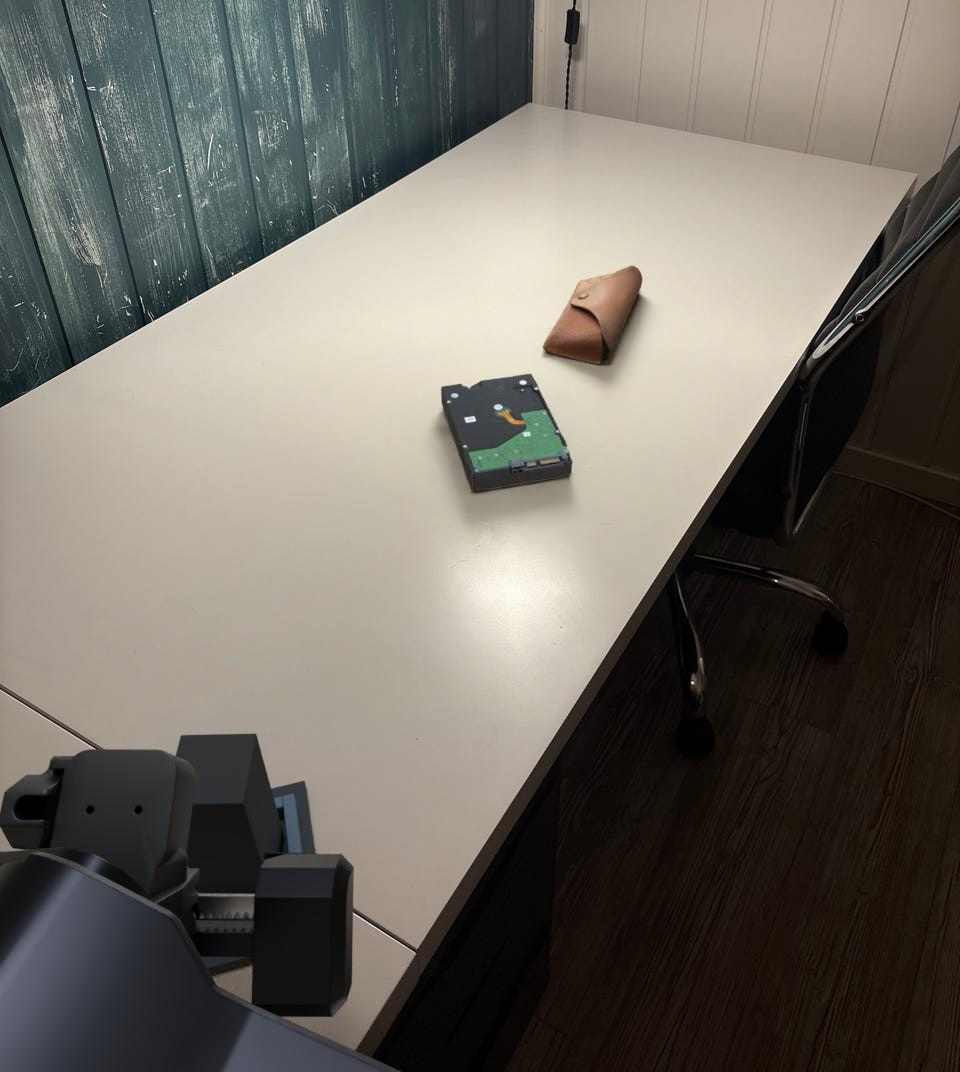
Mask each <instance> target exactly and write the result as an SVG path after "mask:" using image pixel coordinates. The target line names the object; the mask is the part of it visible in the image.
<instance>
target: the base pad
mask: <svg viewBox="0 0 960 1072" xmlns="http://www.w3.org/2000/svg"><path fill="white" fill-rule="evenodd" d="M271 790H272V793H273V797H274V801H275V804H276V808H277V812H278V815H279V819H280V822H281V826H282V830H283V833H284V837H285V838H284V844H283V851H282V853H316V847H315V842H314V841H315V840H314V833H313V826H312V820H311V812H310V804H309V803H310V802H309V798H308V790H307V784H306V781H305V780H300V781H297V782H293V783H288V784H284V785H280V786H275V787H271ZM187 868H189V867H188V866H187ZM193 914H194V913H193ZM194 917H195V915H194ZM200 918H204V915H203V913H202V914H201V917H200ZM209 918H213V915H212V913H211V914H210V917H209ZM218 918H222V916H221V913H219V916H218ZM227 918H231V916H230V913H228V916H227ZM236 918H240V917H239V913H237V915H236ZM244 918H249V917H248V914H247V913H246V915H245V917H244ZM253 918H254V917H253ZM201 958H202V960H203V962H204V963H205V965H206V967H207V969H208V970H209V972H210V974H211V975H216V974H218V973H222V972H225V971H226V972H227V971H230V970H233V969H236V968H240V967H244V966H247V965H251V964H252V962H253V957H201Z"/></svg>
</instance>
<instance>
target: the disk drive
mask: <svg viewBox="0 0 960 1072" xmlns="http://www.w3.org/2000/svg"><path fill="white" fill-rule="evenodd" d="M440 395H441V396H440V398H441V405H442V410H443V413H444V416H445V419H446V420H447V423H448V425H449V429H450V432H451V435H452V437H453V440H454V443H455V445H456V449H457V452H458V454H459V457H460V459H461V463H462V467H463V468H464V473H465V476H466V478H467V481H468V483H469V486H470V487H471V491H472V492H476V491H482V490H493V489H499V488H504V487H510V486H517V485H522V484H523V485H524V484H528V483H535V482H540V481H546V480H551V479H558V478H563V477H565V476H570V475H572V468H573V459H572V457H571V454H570V450H569V448H568V444H567V440H565V437H564V436H563V434H562V432H561V431H560V430H561V429H560V428H559V426H558V424H557V422H556V420H555V418H554V416H553V414H552V412H551V409H550V408H549V405H548V404H547V402H546V400H545V398H544V396H543V393H542V392H541V390H540V388H539V385H538V383H537V381H536V380H535V378H534V376H533V374H532V373H524V374H518V375H513V376H506V377H498V378H497V377H496V378H491V379H490V378H489V379H482V380H480V381H478V382H477V383H474V384H473V385H471V386H470V387H469V386H466V385H463V384H462V383H456V384H450V385H449V384H448V385H443V386H441V387H440Z"/></svg>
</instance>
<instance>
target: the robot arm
mask: <svg viewBox="0 0 960 1072" xmlns="http://www.w3.org/2000/svg"><path fill="white" fill-rule="evenodd" d="M196 785H197V775H196V771H195V769H194V767H193V766H192V765H191V764H190V763H189V762H187V761H185V760H183V759H181V758H179V757H177V756H176V754H172V753H170V752H168V751H166V750H162V749H143V748H142V749H140V748H139V749H138V748H137V749H129V748H128V749H127V748H126V749H121V748H120V749H118V748H117V749H115V748H114V749H111V748H109V749H107V748H105V749H100V748H99V749H97V748H96V749H94V748H92V749H85V750H82V751H79V752H78V753H76V754H74V755H53V756H52V758H50V760H49V764H48V768H47V770H45V771H43V773H39V774H26V775H24V776H23V777H21V778H20V779H18V781H16V782H14V784H12V785H11V786H10V787H8V788H7V789H6V790H5V791H4V793H3V797H2V801H1V807H0V829H1V831H2V833H3V835H4V837H5V839H6V841H7V842H8V844H9V846H10V847H11V848H12V849H15V850H9V851H8V850H7V851H1V850H0V1072H402V1071H401V1070H399V1069H396V1068H394V1067H392V1066H390V1065H388V1064H385V1063H384V1062H381V1061H379V1060H376V1059H374V1058H373V1057H370V1056H368V1055H365V1054H364V1053H361V1052H359V1051H357V1050H355V1049H352V1048H350V1047H348V1046H346V1045H344V1044H341V1043H339V1042H337V1041H335V1040H333V1039H330V1038H328V1037H326V1036H323V1035H322V1034H320V1033H317V1032H315V1031H313V1030H310V1029H308V1028H306V1027H304V1026H301V1025H299V1024H298V1023H295V1022H293V1021H291V1020H288V1019H286V1018H334V1016H335V1015H336V1014H337V1013H338V1012H339V1011H340V1009H341V1008H343V1006H344V1005H345V1004H346V1003H347V1001H348V998H349V994H350V991H351V988H352V985H353V946H354V945H353V937H354V936H353V933H354V927H353V926H354V882H355V881H354V880H355V879H354V876H355V875H354V874H355V873H354V871H355V867H354V865H353V864H352V863H351V862H350V861H349V860H348V859H347V857H345V856H344V854H342V853H317V852H315V853H265V859H264V862H263V864H262V865H261V867H260V869H259V875H258V880H257V885H256V890H255V894H238V893H199V868H187V866H188V855H187V853H186V851H187V845H188V837H189V829H190V822H191V814H192V806H193V798H194V794H195V792H196ZM193 913H194V914H193ZM202 913H203V915H204V918H200V917H201V914H202ZM211 913H212V915H213V918H209V917H210V914H211ZM219 913H221V916H222V918H218V916H219ZM228 913H230V916H231V918H227V916H228ZM237 913H239V917H240V918H236V915H237ZM246 913H247V914H248V917H249V918H244V917H245V915H246ZM194 915H195V917H194ZM253 917H254V918H253ZM201 957H253V962H252V963H251V964H252V965H251V968H252V969H251V998H250V999H251V1002H249V1001H248V1000H245V999H244V998H242V997H240V996H238V995H236V994H234V993H232V992H231V991H228V990H227V989H225V988H223V987H221V986H219V985H218V984H217V983H216V981H215V979H214V978H213V976H212V974H210V972H209V970H208V969H207V967H206V965H205V963H204V962H203V960H202V958H201Z"/></svg>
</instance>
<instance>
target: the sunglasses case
mask: <svg viewBox="0 0 960 1072" xmlns="http://www.w3.org/2000/svg"><path fill="white" fill-rule="evenodd" d="M642 285H643V274H642V272H641V270H640V269H639V268H638V267H636V266H635V265H628V266H626V267H624V268H622V269H621V268H620V269H619V270H617V271H615V272H611V273H607V274H603V275H598V276H594V277H590V278H586V279H581V280H579V281H578V283H577V285H576V287H575V289H574V291H573V293H572V295H571V297H570V298H569V300H568V302H567V304H566V306H565V307H564V309H563V311H562V312H561V315H560V316H559V318H558V320H557V321H556V323H555V325H554V326H553V328H552V329H551V331H550V332H549V334H548V335H547V337H546V339H545V340H544V342H543V345H542V349H543V350H545V351H546V352H547V353H550V354H553V355H555V356H559V357H562V358H566V359H569V360H573V361H578V362H582V363H586V364H592V365H596V366H599V365H604V364H606V363H607V362H608V361H610V359H611V357H612V356H613V353H614V351H615V348H616V346H617V344H618V341H619V339H620V337H621V334H622V332H623V329H624V327H625V324H626V322H627V320H628V317H629V315H630V312H631V311H632V308H633V305H634V304H635V301H636V299H637V297H638V295H639V293H640V290H641V289H642Z"/></svg>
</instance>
